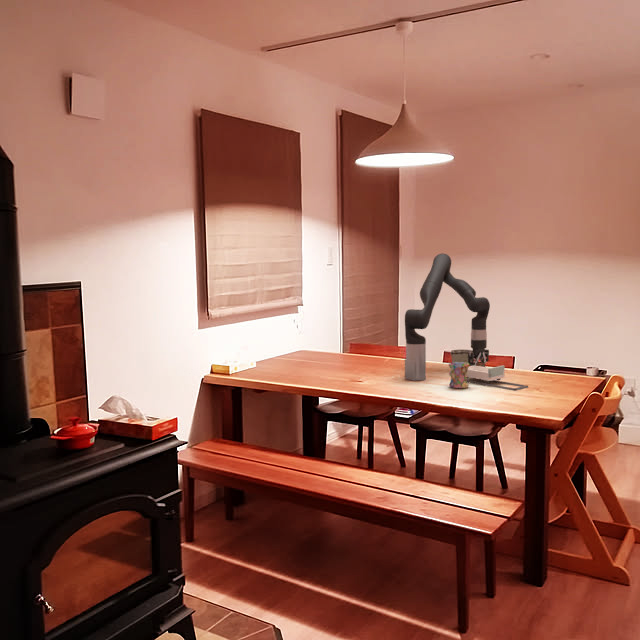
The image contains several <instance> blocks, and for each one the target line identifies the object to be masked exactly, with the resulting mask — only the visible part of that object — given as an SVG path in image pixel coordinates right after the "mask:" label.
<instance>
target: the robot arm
mask: <svg viewBox="0 0 640 640" xmlns="http://www.w3.org/2000/svg"><path fill="white" fill-rule="evenodd" d="M451 267H452V259H451V257H450V256H449V254H447V253H443V252H442V253H438V254H437V255H436V256H434V258H433V261H432V264H431V269H430V270H429V272H428V274H427V276H426V278H425V280H424V282H423V284H422V286H421V288H420V291H419V297H420V299H421V302H422V304H423V308H422V309H415V308H414V309H407V310H406V312H405V314H404V332H405V335H404V337H405V359H404V380H409V381H412V382H413V381H414V382H415V381H424V380H426V378H427V376H426V375H427V373H426V372H427V370H426V369H427V368H426V363H427V362H426V361H427V360H426V358H427V356H426V352H427V350H426V349H427V348H426V345H427V342H426V339H427V338H426V337H425V336H423V335H421V334H419V333H418V332H417V331H416V330H425V329H427V327H428V326H429V323H430V321H431V317H432V314H433V310H434V307H435V306H436V303H437V300H438V299H439V296H440V293H441V290H442V288H443V283H444V284H446V285H447V286H448V287H450V288H451V289H453V290H454V291H455V292H456V293H457V294H458V295H459V296H460V297H461V299H462V300H463V301H464V303H465V305H466V307H467V309H468V310H469V311H471V312H472V313H476V314H475V315H476V316H473V317H472V318H471V325H470V326H471V328H470V329H471V330H470V348H471V349H472V352H468V363H469V364H470V365H471V366H476V363H477V362H485V367H487V366H486V364H487V362H489V358H490V357H489V355H490V350H489V349H487V343H488V341H487V337H488V336H487V333H488V332H487V320H488V317H489V313H490V308H491V305H490V300H489V299H488V298H487V297H484V296H482V297H476V295H477V292H476V290H475V289H474V288H473V287H472V285H470V284H469V283H468V282H467V281H466V280H464V279H460V278H456V277H454V276H453V274H452V273H451ZM470 360H472V361H470Z"/></svg>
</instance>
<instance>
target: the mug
mask: <svg viewBox="0 0 640 640" xmlns="http://www.w3.org/2000/svg"><path fill="white" fill-rule="evenodd" d="M447 364H448V367H449V371H448V372H449V377H450V381H449V384H448V386H449V387H450V388H454V389H465V388H468V387H469V382H467V380H468V378H467V370H468V367H469V365H470V364H469V363H464V362H452V361H451V362H448V363H447Z"/></svg>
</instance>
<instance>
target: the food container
mask: <svg viewBox="0 0 640 640" xmlns="http://www.w3.org/2000/svg"><path fill="white" fill-rule="evenodd" d="M472 350H473V349H472ZM472 350H471V349H452V350H451V351H450V353H449V355H450V356H451V363H452V362H464V363H468V352H472ZM470 361H472V360H470ZM469 366H471V365H469Z"/></svg>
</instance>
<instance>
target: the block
mask: <svg viewBox="0 0 640 640" xmlns="http://www.w3.org/2000/svg"><path fill="white" fill-rule="evenodd" d="M476 366H481V367H486V366H485V362H481V361H478V362H477V363H476Z"/></svg>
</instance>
